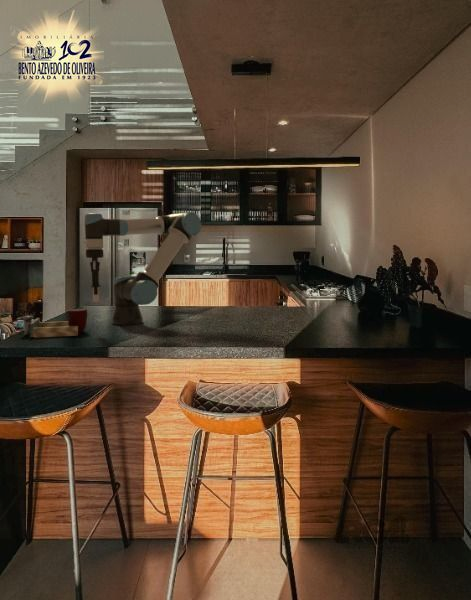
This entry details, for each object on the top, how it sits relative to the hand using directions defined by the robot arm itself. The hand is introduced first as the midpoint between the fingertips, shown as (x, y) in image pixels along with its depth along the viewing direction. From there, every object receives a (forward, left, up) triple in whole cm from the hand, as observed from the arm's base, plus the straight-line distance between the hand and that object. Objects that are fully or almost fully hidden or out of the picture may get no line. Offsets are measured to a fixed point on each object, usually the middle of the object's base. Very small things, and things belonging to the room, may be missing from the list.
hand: (96, 301), depth 221 cm
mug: (+9, 0, -14) cm, 16 cm away
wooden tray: (+17, 0, -14) cm, 22 cm away
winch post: (+29, 0, -14) cm, 32 cm away
